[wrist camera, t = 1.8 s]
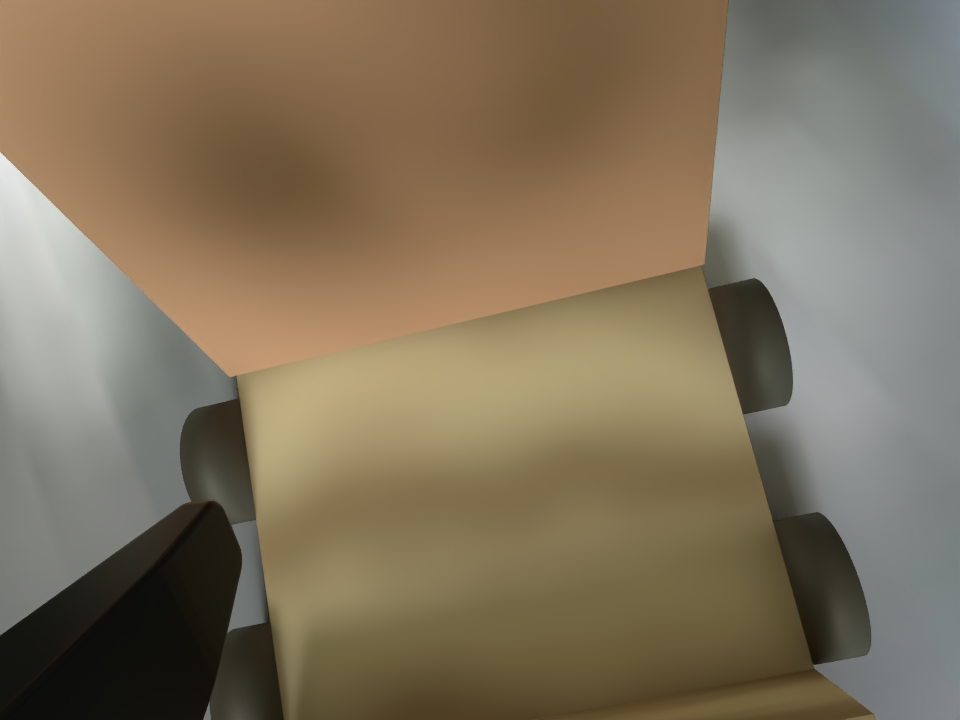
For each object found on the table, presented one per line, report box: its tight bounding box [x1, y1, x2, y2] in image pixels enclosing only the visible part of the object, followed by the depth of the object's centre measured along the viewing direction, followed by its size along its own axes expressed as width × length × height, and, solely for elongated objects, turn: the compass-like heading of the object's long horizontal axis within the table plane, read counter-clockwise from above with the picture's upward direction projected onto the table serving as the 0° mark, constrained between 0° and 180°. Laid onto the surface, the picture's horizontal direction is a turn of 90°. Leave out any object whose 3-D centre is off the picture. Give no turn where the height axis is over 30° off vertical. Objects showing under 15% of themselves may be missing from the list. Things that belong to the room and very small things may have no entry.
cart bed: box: [180, 266, 875, 720], centre depth 20 cm, size 13×16×6 cm
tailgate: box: [0, 0, 729, 377], centre depth 16 cm, size 1×14×14 cm, turn 102°
